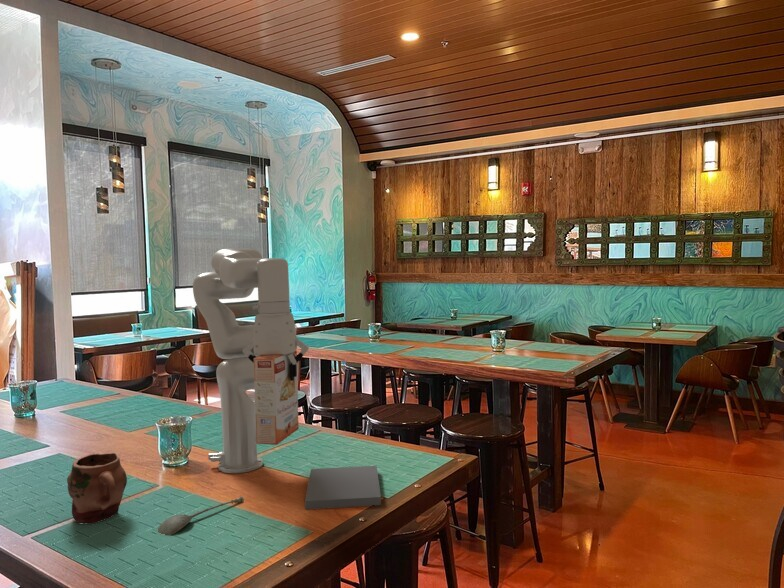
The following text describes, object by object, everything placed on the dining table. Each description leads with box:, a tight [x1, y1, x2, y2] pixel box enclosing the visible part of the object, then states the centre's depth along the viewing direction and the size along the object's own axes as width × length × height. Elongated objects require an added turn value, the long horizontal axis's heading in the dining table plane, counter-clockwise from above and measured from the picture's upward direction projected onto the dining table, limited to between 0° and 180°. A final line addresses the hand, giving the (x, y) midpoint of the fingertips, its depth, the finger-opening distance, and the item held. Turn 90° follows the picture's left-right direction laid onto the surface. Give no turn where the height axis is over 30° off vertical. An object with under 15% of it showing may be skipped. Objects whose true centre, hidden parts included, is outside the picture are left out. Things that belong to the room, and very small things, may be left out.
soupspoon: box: [157, 496, 245, 536], centre depth 137 cm, size 22×3×7 cm
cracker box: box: [254, 350, 299, 446], centre depth 146 cm, size 14×6×21 cm, turn 167°
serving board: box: [304, 465, 382, 510], centre depth 151 cm, size 18×22×2 cm
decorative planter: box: [66, 452, 128, 524], centre depth 137 cm, size 20×12×14 cm, turn 51°
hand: (276, 379), depth 145 cm, fingers closed on cracker box, 7 cm apart
